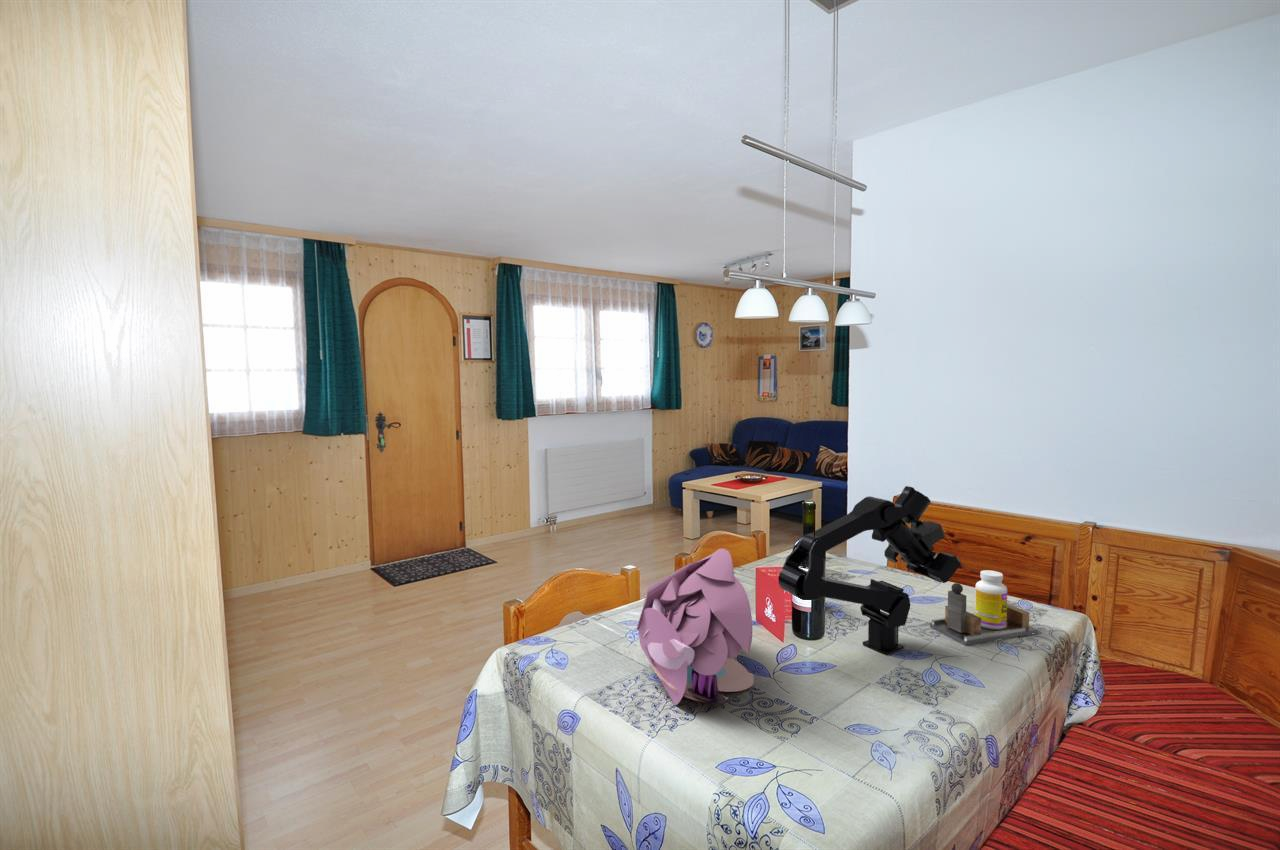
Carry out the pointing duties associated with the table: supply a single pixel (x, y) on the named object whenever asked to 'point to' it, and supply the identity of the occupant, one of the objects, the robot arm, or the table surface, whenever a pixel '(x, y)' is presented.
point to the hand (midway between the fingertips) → (940, 580)
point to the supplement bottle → (991, 600)
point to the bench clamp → (1014, 628)
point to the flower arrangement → (698, 630)
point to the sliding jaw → (960, 613)
